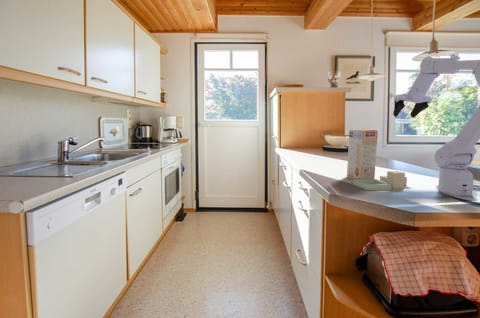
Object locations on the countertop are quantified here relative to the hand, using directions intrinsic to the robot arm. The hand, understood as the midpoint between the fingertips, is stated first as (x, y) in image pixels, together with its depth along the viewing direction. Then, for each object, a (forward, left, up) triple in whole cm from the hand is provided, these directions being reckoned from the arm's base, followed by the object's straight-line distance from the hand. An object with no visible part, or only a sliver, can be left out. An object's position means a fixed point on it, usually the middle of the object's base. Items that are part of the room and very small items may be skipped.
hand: (403, 115), depth 128 cm
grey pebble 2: (-15, +9, -25) cm, 31 cm away
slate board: (-17, +12, -26) cm, 33 cm away
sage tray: (-17, +21, -26) cm, 38 cm away
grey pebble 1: (-14, +14, -25) cm, 32 cm away
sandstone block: (-19, +14, -25) cm, 34 cm away
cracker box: (-4, +19, -26) cm, 33 cm away
